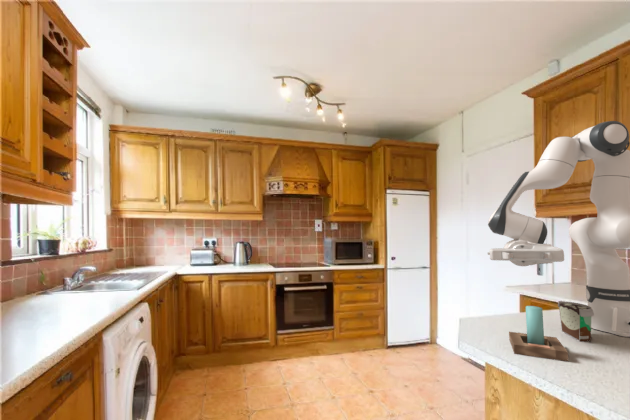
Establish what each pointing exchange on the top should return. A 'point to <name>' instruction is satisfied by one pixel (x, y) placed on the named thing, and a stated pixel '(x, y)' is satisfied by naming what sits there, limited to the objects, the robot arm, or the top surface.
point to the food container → (576, 320)
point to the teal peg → (534, 325)
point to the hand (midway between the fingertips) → (528, 256)
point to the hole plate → (538, 347)
